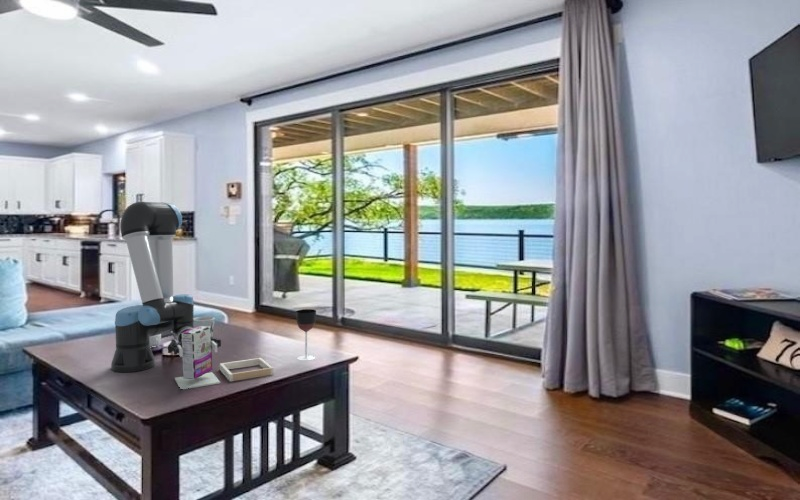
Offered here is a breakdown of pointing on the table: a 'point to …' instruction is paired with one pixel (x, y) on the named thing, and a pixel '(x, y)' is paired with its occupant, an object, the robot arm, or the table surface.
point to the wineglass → (306, 326)
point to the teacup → (155, 340)
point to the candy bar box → (196, 352)
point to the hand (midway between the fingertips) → (199, 350)
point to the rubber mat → (197, 381)
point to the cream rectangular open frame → (247, 374)
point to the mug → (205, 322)
